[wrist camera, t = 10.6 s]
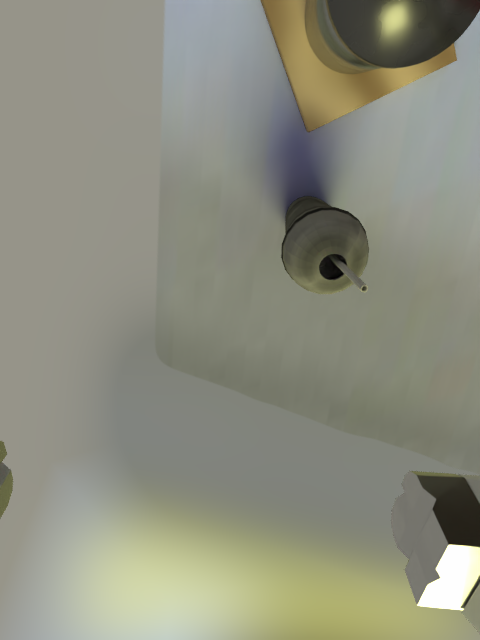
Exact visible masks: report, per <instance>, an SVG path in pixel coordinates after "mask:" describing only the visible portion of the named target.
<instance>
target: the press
mask: <svg viewBox="0 0 480 640" xmlns="http://www.w3.org/2000/svg"><path fill="white" fill-rule="evenodd" d="M479 10H480V0H307V1H306V6H305V29H306V35H307V38H308V41H309V44H310V47H311V49H312V50H313V52H314V54H315V55H316V57H317V58H318V59H319V60H320V61H321V62H322V63H323V64H324V65H325V66H327V67H328V68H330V69H331V70H333V71H336V72H339V73H343V74H359V73H363V72H367V71H371V70H375V69H379V68H389V69H396V68H404V67H409V66H413V65H416V64H420V63H422V62H425V61H427V60H429V59H431V58H433V57H435V56H437V55H438V54H440V53H441V52H443V51H444V50H445V49H447V48H448V47H450V46H451V45H452V44H453V43H454V42H455V41H456V40H457V39H458V38H459V37H460V36H461V35H462V34H463V33H464V31H465V30H466V29H467V28H468V27H469V25H470V24H471V22H472V21H473V20H474V18H475V17H476V15H477V13H478V12H479Z"/></svg>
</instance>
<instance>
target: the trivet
mask: <svg viewBox="0 0 480 640" xmlns="http://www.w3.org/2000/svg"><path fill="white" fill-rule="evenodd" d="M306 1H307V0H261V3H262V6H263V8H264V11H265V14H266V17H267V20H268V23H269V25H270V28H271V31H272V34H273V37H274V40H275V42H276V45H277V48H278V51H279V54H280V57H281V59H282V62H283V65H284V68H285V71H286V74H287V76H288V79H289V82H290V85H291V88H292V91H293V94H294V96H295V99H296V102H297V105H298V108H299V111H300V113H301V116H302V119H303V122H304V125H305V128H306V130H307V132H311V131H313V130H315V129H317V128H319V127H321V126H323V125H325V124H327V123H329V122H331V121H333V120H335V119H337V118H339V117H341V116H343V115H345V114H347V113H350V112H352V111H354V110H356V109H358V108H360V107H362V106H364V105H366V104H368V103H370V102H372V101H374V100H376V99H378V98H380V97H382V96H384V95H386V94H389V93H391V92H393V91H395V90H397V89H399V88H401V87H403V86H405V85H407V84H409V83H411V82H413V81H415V80H417V79H419V78H421V77H423V76H425V75H428V74H430V73H432V72H434V71H436V70H438V69H440V68H442V67H444V66H446V65H448V64H450V63H452V62H454V61H456V60H457V58H456V53H455V48H454V43H453V44H452V45H451V46H450V47H448V48H447V49H445V50H444V51H443V52H441V53H440V54H438V55H437V56H435V57H433V58H431V59H429V60H427V61H425V62H422V63H420V64H416V65H413V66H409V67H404V68H396V69H389V68H379V69H375V70H371V71H367V72H363V73H359V74H343V73H339V72H336V71H333V70H331V69H330V68H328V67H327V66H325V65H324V64H323V63H322V62H321V61H320V60H319V59H318V58H317V57H316V55H315V54H314V52H313V50H312V49H311V47H310V44H309V41H308V38H307V35H306V29H305V6H306Z"/></svg>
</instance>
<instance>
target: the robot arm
mask: <svg viewBox="0 0 480 640" xmlns="http://www.w3.org/2000/svg"><path fill="white" fill-rule="evenodd" d="M6 455H7V452H6V449H5V445H4V442H2V441H0V518H1V517H2V515H3V513H4V511H5V509H6V508H7V506H8V503H9V500H10V496H11V493H12V487H13V477H12V473H11V470H10V469H9V468H8V467H7V466H6V465H5V464H4V463H2V461H3V459H4V458H5V456H6ZM402 486H403V489H404V492H405V493H403V494H402V495H400V496H399V497H397V498H396V499H395V502H394V505H393V508H392V517H391V524H392V530H393V536H394V538H395V542H396V545H397V548H398V549H399V550H400V551H401V552H402V553H403V554H404V555H405V556H406V557H407V558H408V559H409V560H408V562H407V565H406V568H405V571H406V575H407V578H408V580H409V583H410V586H411V589H412V592H413V595H414V598H415V601H416V603H417V606H426V607H436V608H447V609H457V610H463V611H462V613H463V615H464V616H465V617H466V618H467V619H468V621H469V622H470V623H471V624H472V625H473V626H474V628H475V629H476V630H477V631H478V632H479V634H480V476H477V475H461V474H459V475H456V474H449V473H434V472H418V471H409V472H408V473H407V474H406V475H405V476H404V479H403V481H402Z"/></svg>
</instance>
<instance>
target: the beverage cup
mask: <svg viewBox="0 0 480 640" xmlns="http://www.w3.org/2000/svg"><path fill="white" fill-rule="evenodd" d="M368 253H369V247H368V241H367V236H366V231H365V229H364V228H363V226H362V224H361V223H360V221H359V220H358V219H357V218H356V217H354V216H353V215H352V214H351V213H349V212H348V211H345V210H342V209H338V208H335V207H331V206H330V205H328V204H327V203H325V202H324V201H322V200H320V199H318V198H315V197H312V196H304V197H301V198H298V199H297V200H296V201H294V202H293V203H292V204H291V205H290V207H289V208H288V211H287V214H286V235H285V237H284V240H283V243H282V256H281V258H282V261H283V264H284V267H285V270H286V271H287V273H288V274H289V275H290V277H291V278H292V279H293V280H294V281H295V282H296V283H297V284H298V285H300V286H301V287H303V288H304V289H306V290H308V291H311V292H315V293H318V294H333V293H336V292H340V291H343V290H345V289H346V288H348V287H349V286H351V285H353V284H355V285H356V286H357V287H358V288H359V289H360V290H361V291H362V292H366V291H367V289H368V287H367V285H366V284H365V283H364V282H363V281H362V280H361V279H360V278H359V277H360V276H361V275H362V273H363V271H364V269H365V266H366V264H367V261H368Z"/></svg>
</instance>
